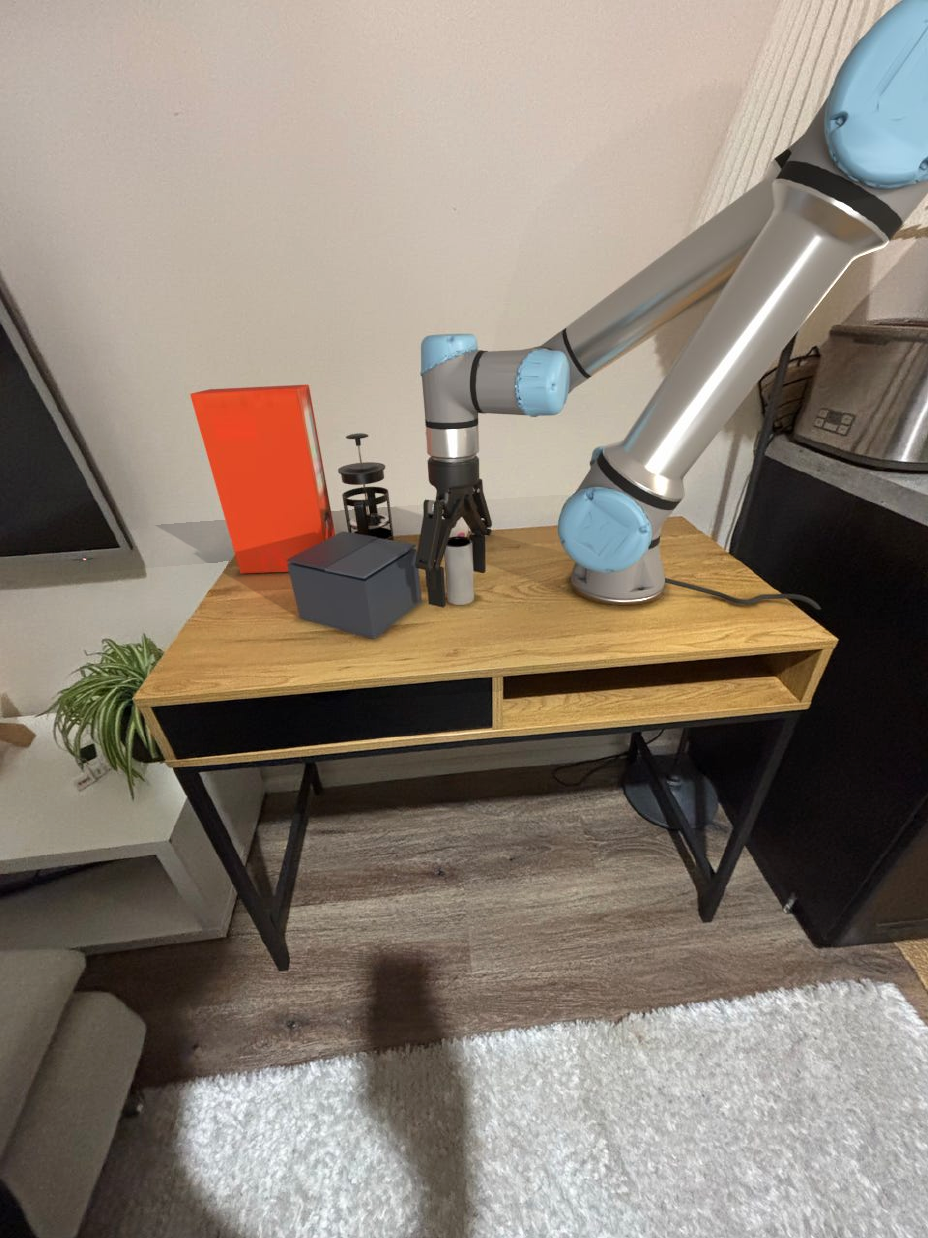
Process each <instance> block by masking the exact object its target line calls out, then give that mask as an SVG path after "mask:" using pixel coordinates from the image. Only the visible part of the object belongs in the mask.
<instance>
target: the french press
mask: <svg viewBox="0 0 928 1238" xmlns="http://www.w3.org/2000/svg"><path fill="white" fill-rule="evenodd" d="M369 436H370V435H369V434H367V433H363V432H360V433H359V432H358V433H351V434H347V435H346V436H345V439H347V440H354V442H355V446H356V447H357V451H358V452H357V453H358V460H359V462H355V463H350V464H346V465H343V466H341V467H339V468H338V469H337V472H338V474H339V475H341V476H340V477H341V482H342V483H343V484H346V485H350V486H361V487H356V488H351V489H349V490H346V491H344V492H343V493H342V495H341V496H342V501H343V503H342V504H343V509H344V514H345V520H346V526H347V532H349V533H355V534H361V535H367V536H372V537H377V538H380V539H387V540H393V541H395V536H394V528H393V527H394V526H393V519H392V509H391V502H390V493H389V489H387V488H385V487H382V486H366V485H371V484H376V483H378V482H381V481H383V480H384V479H385V471H384V470H385V469H386V465H385V464H384V463H381V462H373V461H371V462H370V461H369V462H362V461H363V459H362V453H361V447H360V446H361V445H362V443H361V440H362V439H366V438H368V437H369ZM362 485H363V486H362ZM376 494H379V496H377V497H376ZM359 495H364V499H352V497H354V496H359ZM380 495H381V496H380ZM385 502H386V505H387V514H384V513H379V512H378V505H380V504H384V503H385ZM348 506H349V507H353V510H354V516H353V517H351V518H350V512H349V507H348ZM388 525H389V528H388V527H386V526H388ZM352 530H355V531H352Z"/></svg>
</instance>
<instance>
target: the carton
mask: <svg viewBox="0 0 928 1238" xmlns="http://www.w3.org/2000/svg"><path fill="white" fill-rule="evenodd" d="M376 539H378V538H377V537H372V536H367V535H361V534H355V533H353V532H352V533H349V532H348V531H340V532H339V533H336V534H335V536H333V537H331V538H329V539H327V540H325V541H323V542H321V543H319V544H317V545H315V546H313V547H311V548H309V549H307V550H305V551H303V552H301V553H299V554H297V555H295V556H293V557H291V558H289V559H287V562H291V563H289V564H287V566H288V570H289V571H288V573H289V574H288V575H289V577H290V583H291V586H292V587H291V588H292V590H293V595H294V599H295V603H296V607H297V612H298V616H299V619H301V620H304V621H308V622H311V623H314V624H318V625H322V626H326V627H329V628H332V629H336V630H339V631H343V632H347V633H350V634H354V635H357V636H360V637H364V638H368V639H371V640H375V639H377V638H378V637H380V636H381V635H382V634H383V633H384V632H385V631H387V630H388V629H390V627H392V626H393V625H394V624H396V623H397V622H398V621H399V620H401V619H402V618H403V617H405V615H407V614H408V613H409V612H411V611H412V610H413V609H414V608H416V607H417V606H419V604H421V603H422V602H423V600H422V591H421V590H422V589H421V581H420V580H421V579H420V569H418V568H416V567H415V561H416V556H417V550H418V548H415V547H414V548H412V549H411V550H409V551H408V552H406V553H405V554H403V555H401V556H400V557H398V558H397V559H395V560H393V561H392V562H390V563H389V564H387V565H386V566H384V567H382V568H381V569H379V570H378V571H376V572H375V573H373V574H371V575H370V576H368V577H367V578H365V579H362V578H357V577H353V576H348V575H343V574H338V573H333V572H328V571H325V570H324V568H326V567H328V566H330V565H331V564H333V563H335V562H337V561H338V560H340V559H342V558H344V557H346V556H347V555H349V554H351V553H353V552H355V551H356V550H358V549H360V548H362V547H364V546H365V545H367V544H369V543H371V542H372V541H374V540H376Z"/></svg>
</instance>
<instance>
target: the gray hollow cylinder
mask: <svg viewBox="0 0 928 1238" xmlns="http://www.w3.org/2000/svg"><path fill="white" fill-rule="evenodd" d="M443 558H444V574H445V589H446V598H447V600H446V601H448V603H450V604H451V605H455V606H464V605H468V604H471V603H472V602H473V601H474V600H475V585H474V584H475V579H474V577H475V575H474V571H473V549H472V540H471V539H470V538H469V536H466V537H463V536H455V537H450V538H449V540H448V543H447V546H446V549H445V552H444V556H443Z"/></svg>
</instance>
